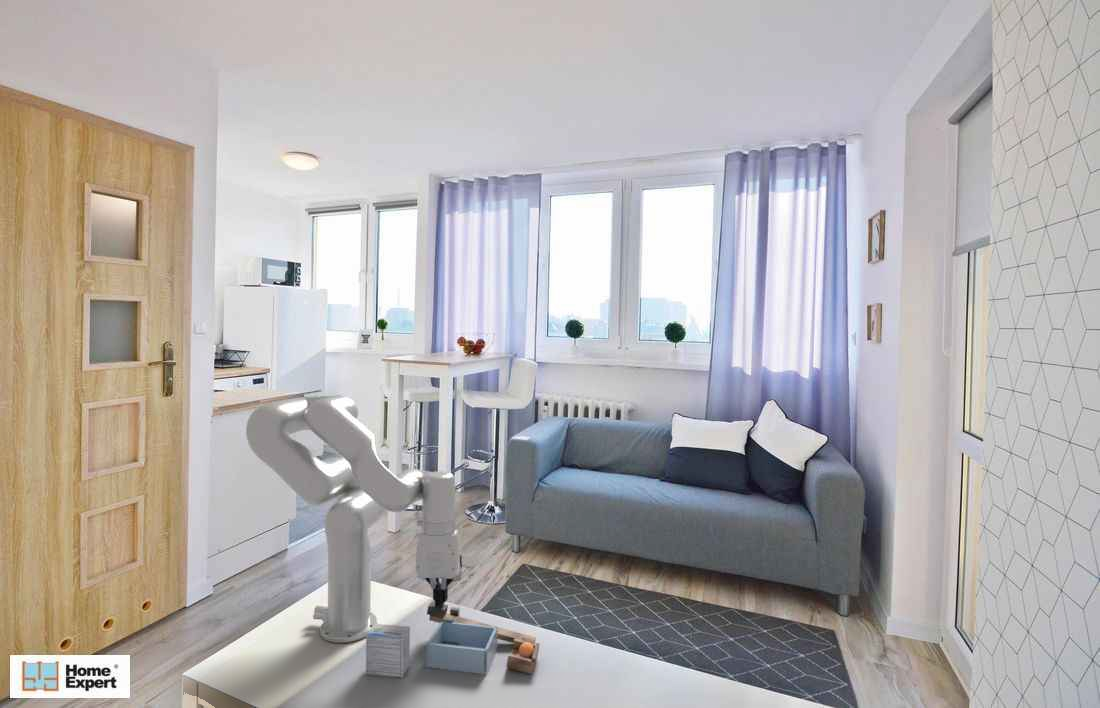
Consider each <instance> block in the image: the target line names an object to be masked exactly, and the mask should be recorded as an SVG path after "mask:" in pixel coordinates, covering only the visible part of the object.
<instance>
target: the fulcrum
mask: <svg viewBox="0 0 1100 708" xmlns="http://www.w3.org/2000/svg"><path fill="white" fill-rule="evenodd" d="M460 610H461V609H460V607H453V606H452V607H450V609H449V611H450V612H449V614H451V615H455V616H458V617H461V616H460V612H461V611H460ZM444 622H446V623H452V622H453V618H447V617H445V618H444ZM442 643H444V644H453V645H459V644H460V643H458V642H449V641H442Z"/></svg>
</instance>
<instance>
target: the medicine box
mask: <svg viewBox="0 0 1100 708" xmlns="http://www.w3.org/2000/svg"><path fill="white" fill-rule="evenodd" d="M410 628H411V627H410V626H408V625H407V626H406V625H397V624H396V625H394V624H384V623H383V624H382V623H381V624H380V623H377V624H375V625H374V626H373V627H372V629H371V630H370V631H369V632H368V634H367V635H366V636H365V639H366V640H365V644H366V645H365V649H366V650H365V675H366V676H367V675H368V676H379V677H388V678H389V677H391V678H401V679H403V677H404V675H405V673H406V672H407V671H408V668H409V666H410V663H411V662H410V661H411V660H410V657H411V655H410V653H411V652H410V648H411V647H410V646H411V645H410V644H411V642H410V641H411V640H410V638H411V636H410V635H411V634H410V633H411V629H410Z"/></svg>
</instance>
